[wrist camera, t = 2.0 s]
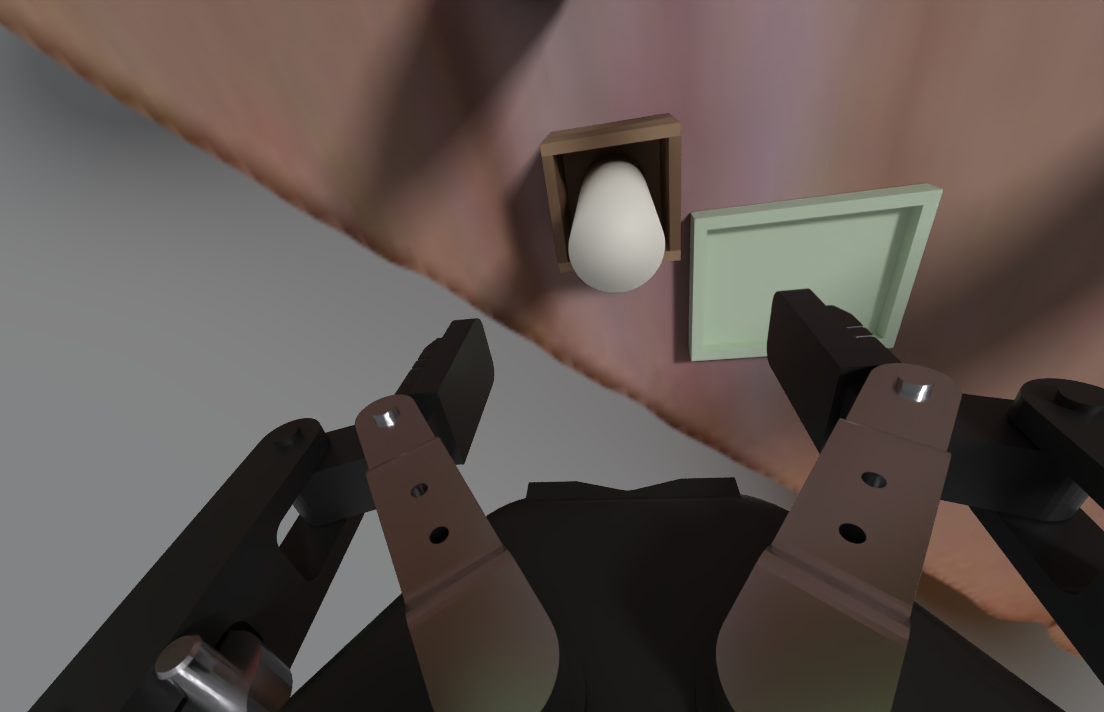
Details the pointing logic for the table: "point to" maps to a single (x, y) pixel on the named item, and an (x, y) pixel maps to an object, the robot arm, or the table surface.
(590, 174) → the dowel
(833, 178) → the table surface
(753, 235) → the tray
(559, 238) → the pen cup
